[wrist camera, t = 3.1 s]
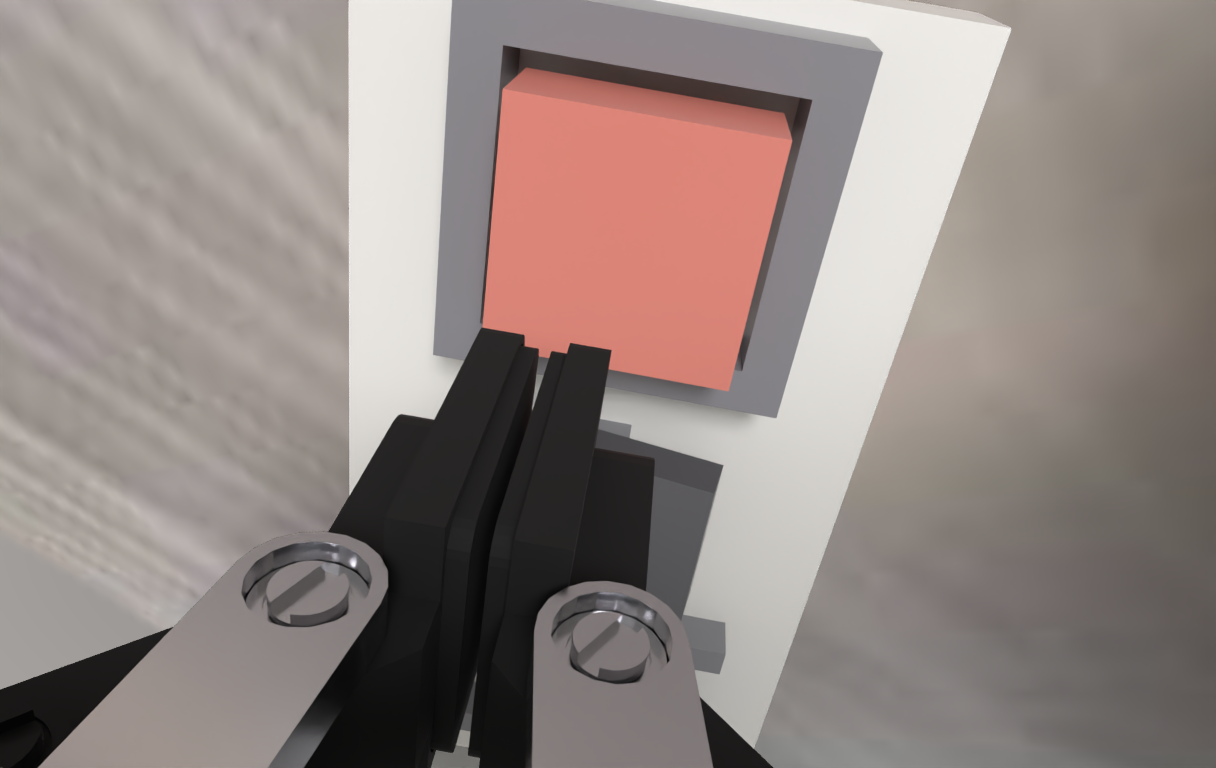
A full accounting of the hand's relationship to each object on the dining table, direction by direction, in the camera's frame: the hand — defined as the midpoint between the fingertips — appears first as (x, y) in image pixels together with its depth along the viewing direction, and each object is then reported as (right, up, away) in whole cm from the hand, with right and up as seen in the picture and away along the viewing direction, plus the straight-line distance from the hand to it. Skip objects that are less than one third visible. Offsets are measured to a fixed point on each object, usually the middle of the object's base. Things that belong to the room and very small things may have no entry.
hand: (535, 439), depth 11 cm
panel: (+1, 0, +14) cm, 14 cm away
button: (+1, +4, +7) cm, 8 cm away
